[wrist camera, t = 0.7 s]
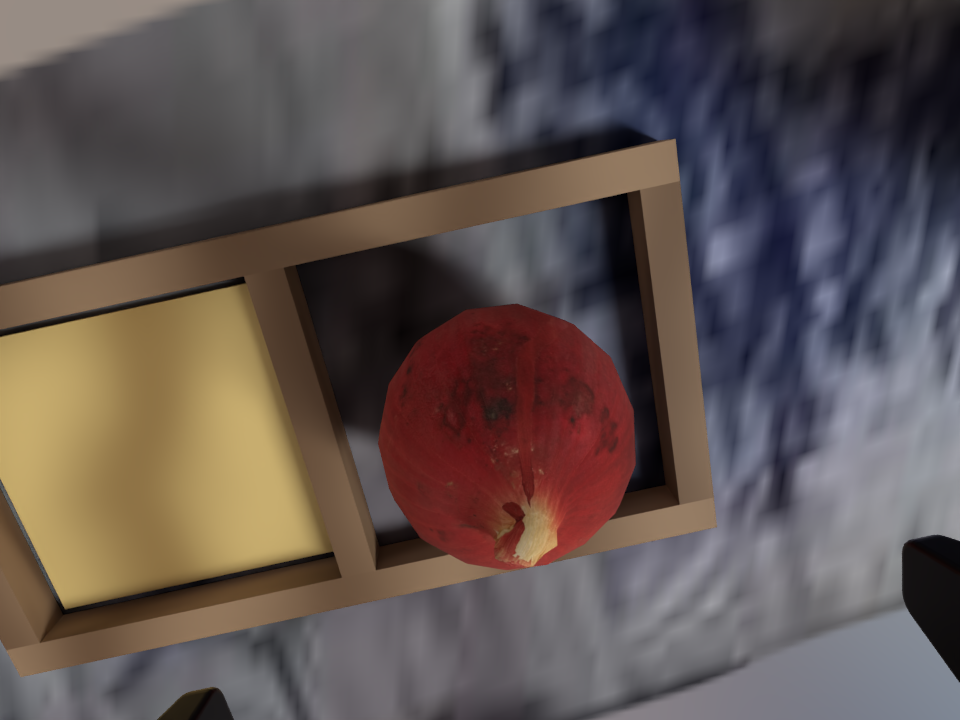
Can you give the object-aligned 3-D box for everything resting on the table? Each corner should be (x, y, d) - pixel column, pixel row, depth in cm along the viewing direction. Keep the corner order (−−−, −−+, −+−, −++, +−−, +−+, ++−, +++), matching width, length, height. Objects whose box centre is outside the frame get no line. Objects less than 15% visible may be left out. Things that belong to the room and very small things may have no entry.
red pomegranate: (375, 295, 17) (323, 400, 10) (585, 266, 17) (698, 347, 10) (410, 484, 19) (389, 701, 11) (600, 457, 19) (705, 653, 11)
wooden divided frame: (658, 140, 16) (675, 138, 15) (701, 505, 20) (716, 527, 19) (-129, 312, 17) (-171, 324, 15) (45, 647, 20) (20, 677, 19)
